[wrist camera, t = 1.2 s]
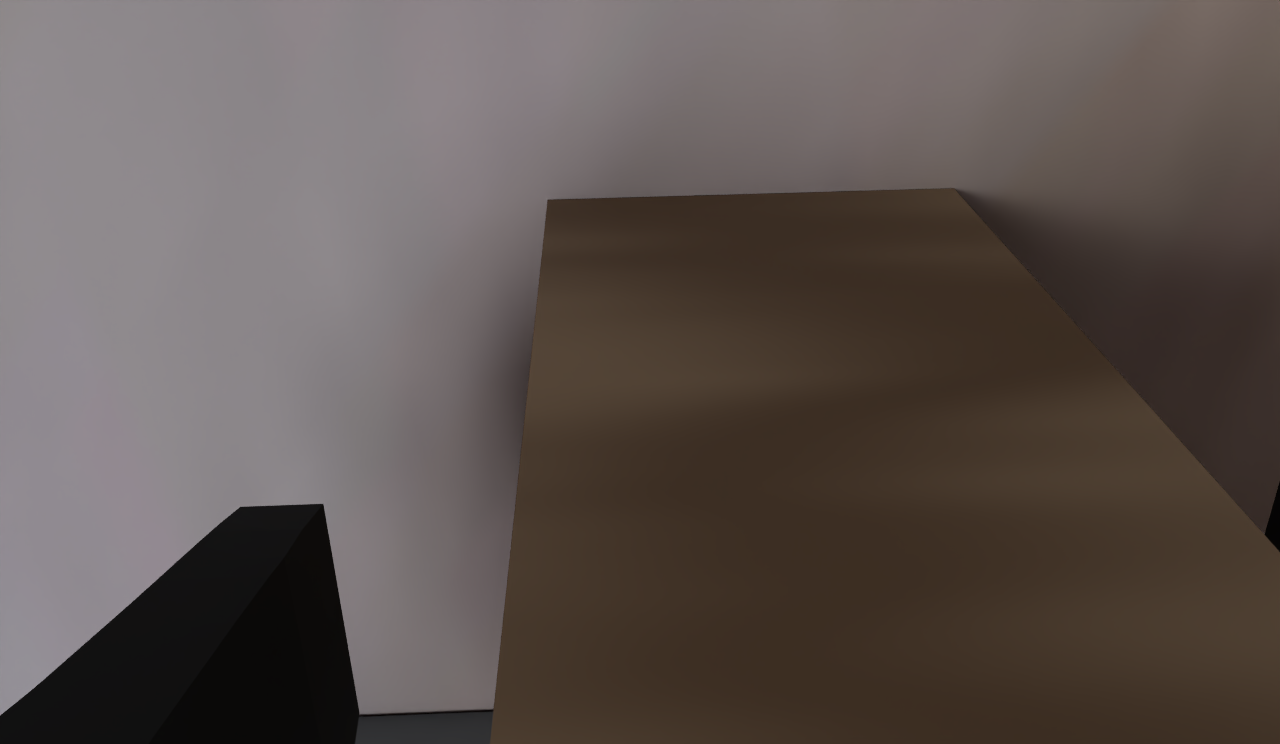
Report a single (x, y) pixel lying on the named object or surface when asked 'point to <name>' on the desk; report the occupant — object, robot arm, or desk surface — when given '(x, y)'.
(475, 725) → the socket box
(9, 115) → the desk surface
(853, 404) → the peg
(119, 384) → the desk surface
